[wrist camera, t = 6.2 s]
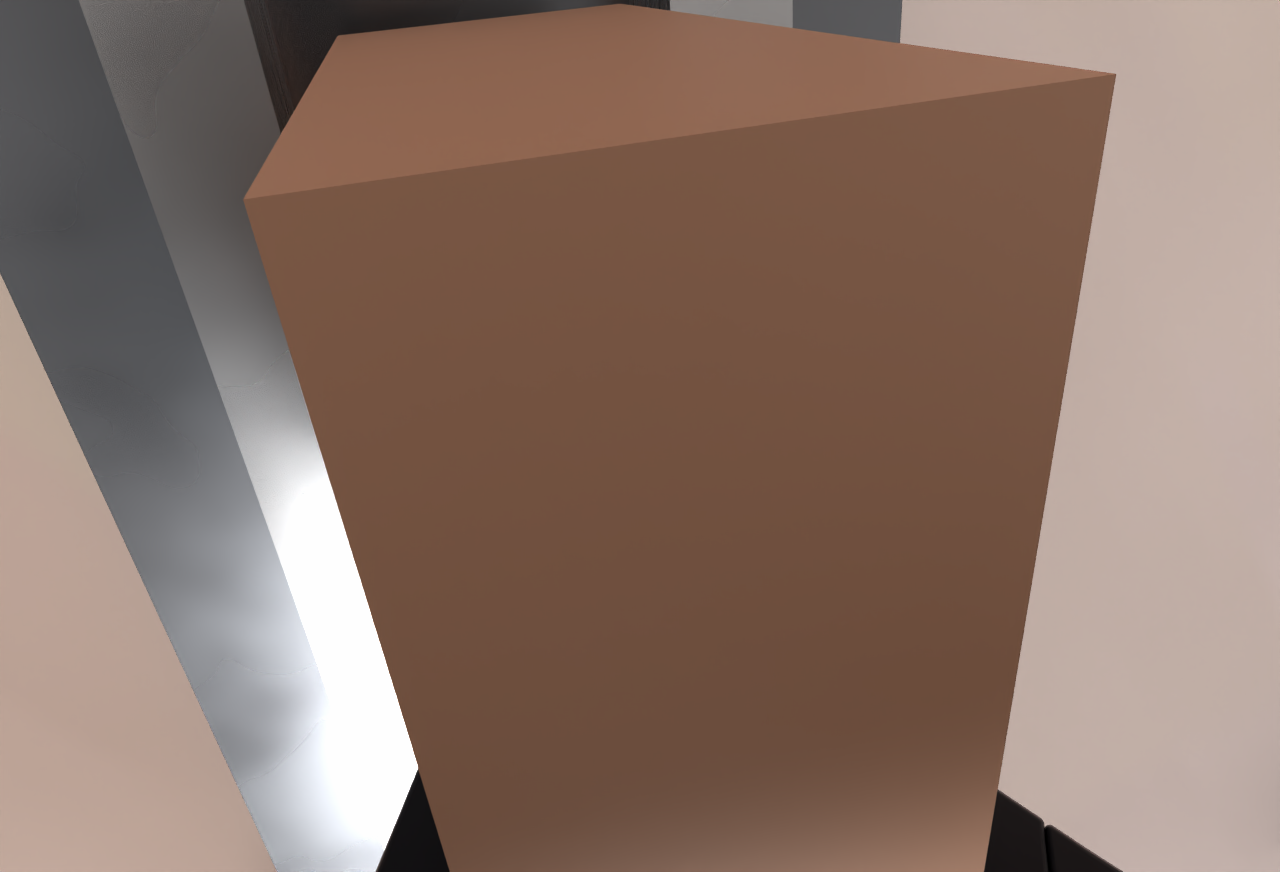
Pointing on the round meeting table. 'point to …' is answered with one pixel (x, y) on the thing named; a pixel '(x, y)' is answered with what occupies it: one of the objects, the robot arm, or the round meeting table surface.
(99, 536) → the round meeting table surface
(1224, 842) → the round meeting table surface
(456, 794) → the tan flat rectangular block
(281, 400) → the track base
